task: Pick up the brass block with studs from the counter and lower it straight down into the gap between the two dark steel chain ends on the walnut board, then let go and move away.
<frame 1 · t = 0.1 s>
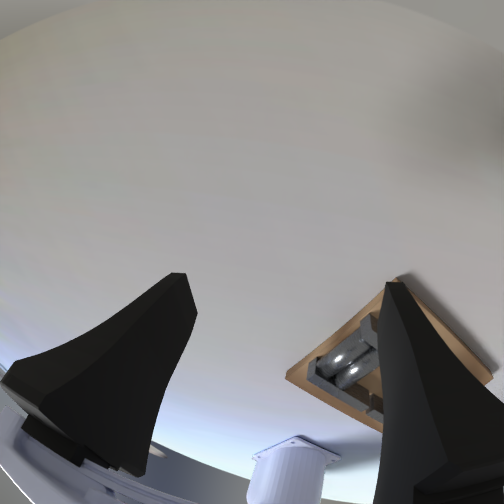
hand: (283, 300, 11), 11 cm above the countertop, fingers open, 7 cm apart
chain end a: (390, 369, 24), resting on chain board
chain end b: (390, 369, 24), resting on chain board
chain board: (400, 376, 24), on the countertop
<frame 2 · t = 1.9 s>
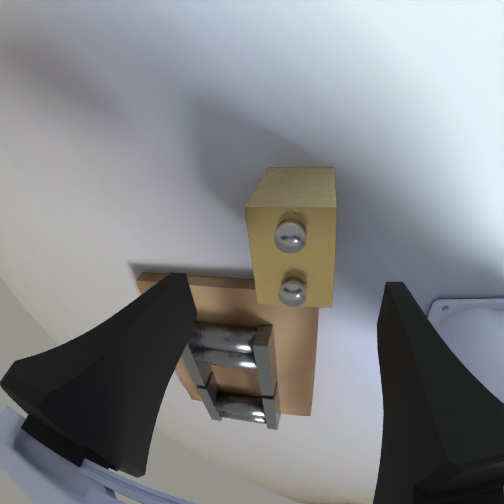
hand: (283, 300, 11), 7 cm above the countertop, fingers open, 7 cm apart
chain end a: (241, 365, 26), resting on chain board
chain end b: (241, 365, 26), resting on chain board
chain board: (239, 355, 25), on the countertop
brass block with studs: (302, 209, 17), on the countertop
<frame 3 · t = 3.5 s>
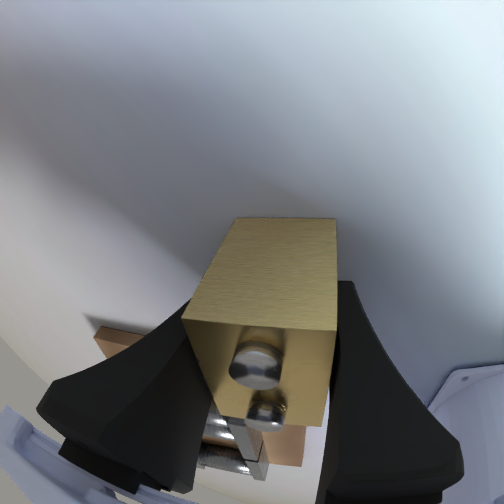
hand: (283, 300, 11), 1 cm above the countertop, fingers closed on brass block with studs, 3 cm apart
chain end a: (222, 421, 21), resting on chain board
chain end b: (222, 421, 21), resting on chain board
chain board: (219, 413, 20), on the countertop
brass block with studs: (288, 275, 12), on the countertop, touching gripper
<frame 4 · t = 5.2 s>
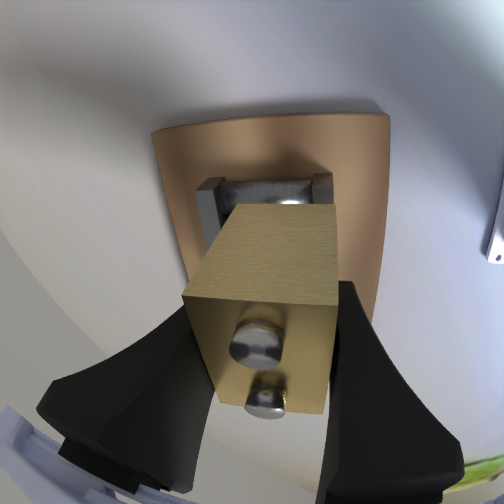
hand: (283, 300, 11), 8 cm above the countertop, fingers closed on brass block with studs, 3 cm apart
chain end a: (280, 267, 20), resting on chain board
chain board: (279, 249, 20), on the countertop
brass block with studs: (288, 262, 12), point 7 cm above the countertop, touching gripper
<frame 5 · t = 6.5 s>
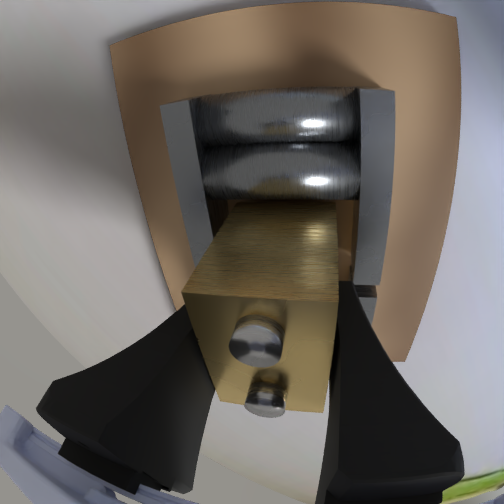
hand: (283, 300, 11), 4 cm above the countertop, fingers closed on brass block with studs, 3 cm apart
chain end a: (294, 245, 14), resting on chain board
chain end b: (294, 245, 14), resting on chain board
chain board: (293, 215, 13), on the countertop
brass block with studs: (288, 261, 12), point 2 cm above the countertop, touching gripper
when the fingers open (4 cm above the countertop, at t = 7.2 s): brass block with studs stays where it is, resting on chain board.
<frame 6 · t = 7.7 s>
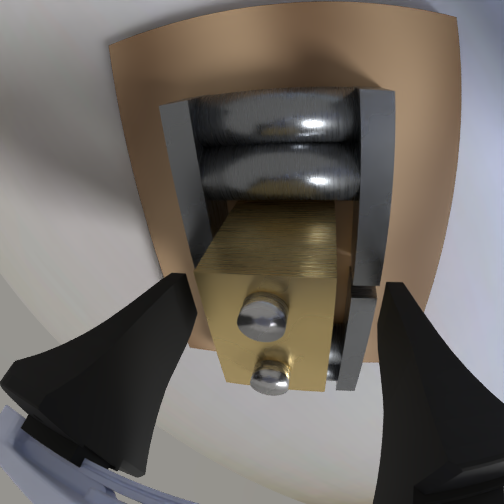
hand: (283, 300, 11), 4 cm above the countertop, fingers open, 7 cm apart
chain end a: (294, 245, 14), resting on chain board
chain end b: (294, 245, 14), resting on chain board
chain board: (292, 215, 13), on the countertop
brass block with studs: (290, 249, 13), point 1 cm above the countertop, touching chain board
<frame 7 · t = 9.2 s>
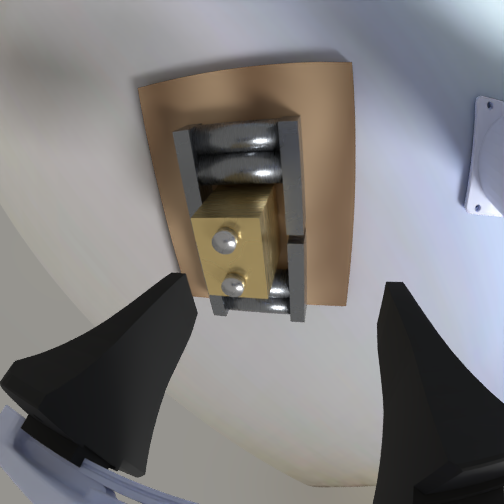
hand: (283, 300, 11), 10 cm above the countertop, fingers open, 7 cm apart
chain end a: (256, 216, 21), resting on chain board
chain end b: (256, 216, 21), resting on chain board
chain board: (254, 196, 20), on the countertop
brass block with studs: (252, 216, 20), point 1 cm above the countertop, touching chain board
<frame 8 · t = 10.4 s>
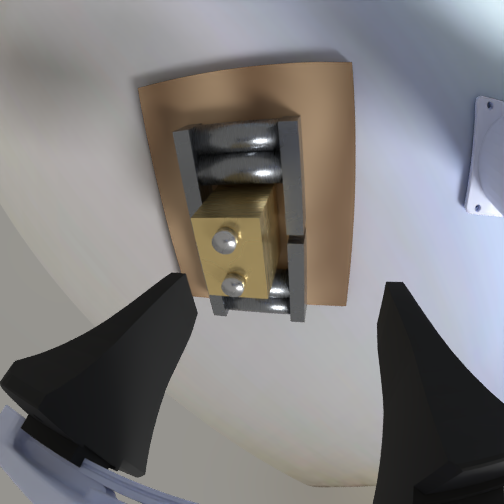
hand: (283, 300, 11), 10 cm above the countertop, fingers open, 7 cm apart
chain end a: (256, 216, 21), resting on chain board
chain end b: (256, 216, 21), resting on chain board
chain board: (254, 196, 20), on the countertop
brass block with studs: (252, 216, 20), point 1 cm above the countertop, touching chain board
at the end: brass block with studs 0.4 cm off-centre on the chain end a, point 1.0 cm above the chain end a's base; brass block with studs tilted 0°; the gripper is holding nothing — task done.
